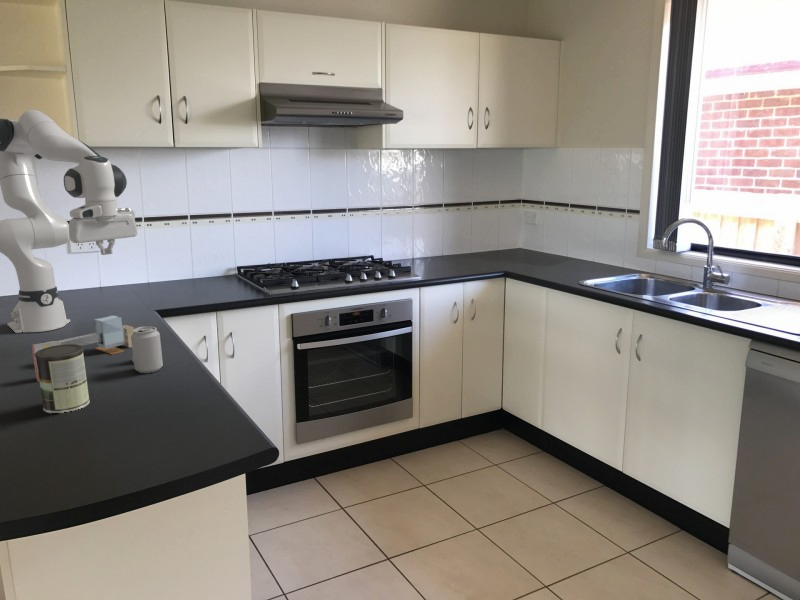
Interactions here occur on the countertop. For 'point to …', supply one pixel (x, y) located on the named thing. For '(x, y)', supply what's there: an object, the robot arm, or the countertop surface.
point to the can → (146, 349)
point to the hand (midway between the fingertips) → (106, 254)
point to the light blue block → (109, 331)
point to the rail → (97, 338)
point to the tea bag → (38, 347)
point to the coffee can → (62, 378)
